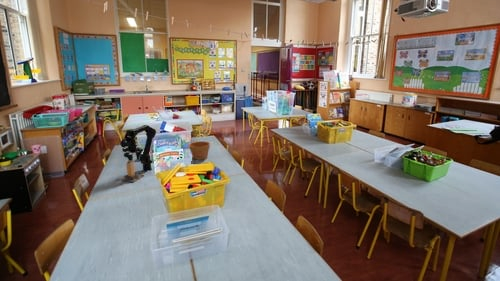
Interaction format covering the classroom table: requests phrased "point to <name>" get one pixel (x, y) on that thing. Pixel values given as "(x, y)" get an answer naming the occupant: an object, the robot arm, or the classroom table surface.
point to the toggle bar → (130, 168)
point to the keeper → (132, 178)
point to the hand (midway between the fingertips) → (134, 161)
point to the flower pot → (199, 150)
